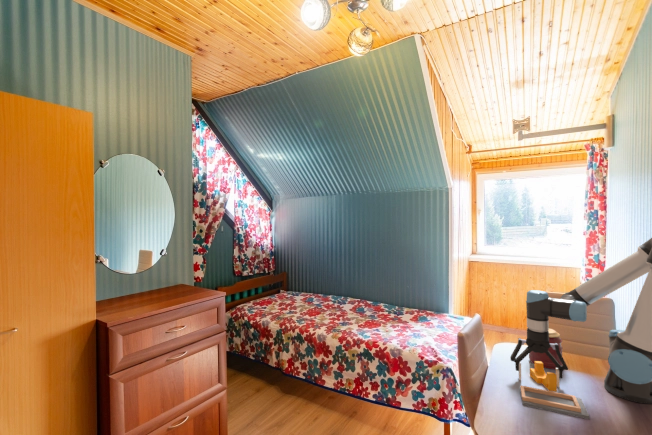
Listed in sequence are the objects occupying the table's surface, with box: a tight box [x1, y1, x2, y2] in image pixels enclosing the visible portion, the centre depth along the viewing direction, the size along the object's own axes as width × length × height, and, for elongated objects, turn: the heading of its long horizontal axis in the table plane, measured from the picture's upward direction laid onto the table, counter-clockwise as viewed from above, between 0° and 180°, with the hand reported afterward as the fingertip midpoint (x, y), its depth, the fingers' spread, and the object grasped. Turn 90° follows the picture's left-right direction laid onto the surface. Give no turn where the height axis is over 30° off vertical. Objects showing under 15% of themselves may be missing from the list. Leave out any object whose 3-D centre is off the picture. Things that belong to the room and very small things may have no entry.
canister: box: [528, 328, 563, 370], centre depth 148 cm, size 13×13×18 cm
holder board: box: [519, 385, 591, 420], centre depth 117 cm, size 19×12×2 cm, turn 63°
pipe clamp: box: [529, 361, 558, 392], centre depth 131 cm, size 12×4×6 cm, turn 171°
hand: (538, 382), depth 131 cm, fingers open, 12 cm apart
